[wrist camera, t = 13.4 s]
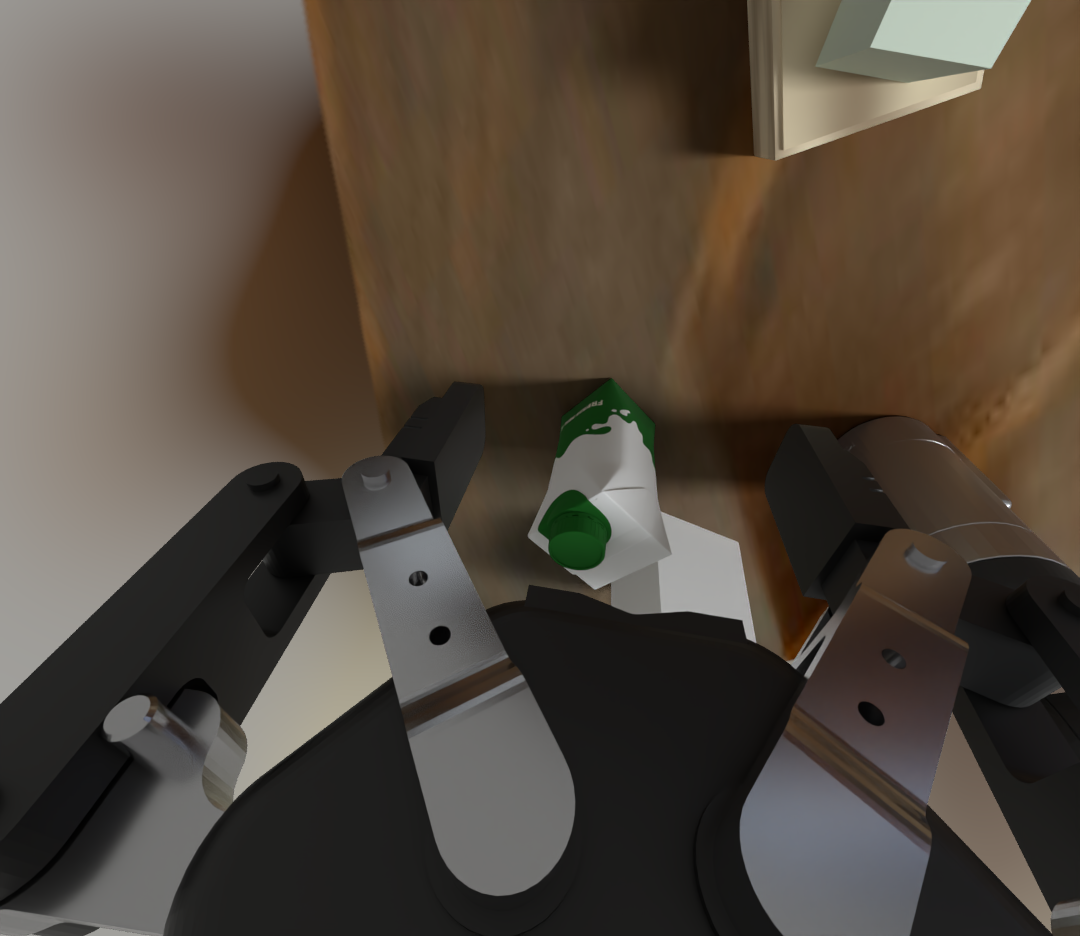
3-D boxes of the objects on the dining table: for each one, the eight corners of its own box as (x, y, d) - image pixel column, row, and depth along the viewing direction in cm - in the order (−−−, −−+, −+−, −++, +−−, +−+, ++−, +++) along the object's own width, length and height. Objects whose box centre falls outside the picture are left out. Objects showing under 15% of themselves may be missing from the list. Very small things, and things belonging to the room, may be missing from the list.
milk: (685, 593, 61) (712, 822, 41) (610, 565, 60) (601, 786, 40) (738, 542, 54) (803, 791, 34) (654, 509, 53) (670, 745, 33)
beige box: (951, -142, 23) (1039, -217, 18) (922, 95, 28) (983, 88, 23) (744, -40, 26) (771, -80, 21) (753, 156, 31) (776, 160, 26)
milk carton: (612, 365, 42) (602, 502, 27) (668, 426, 45) (689, 580, 30) (549, 415, 47) (510, 557, 31) (604, 467, 50) (593, 620, 35)
